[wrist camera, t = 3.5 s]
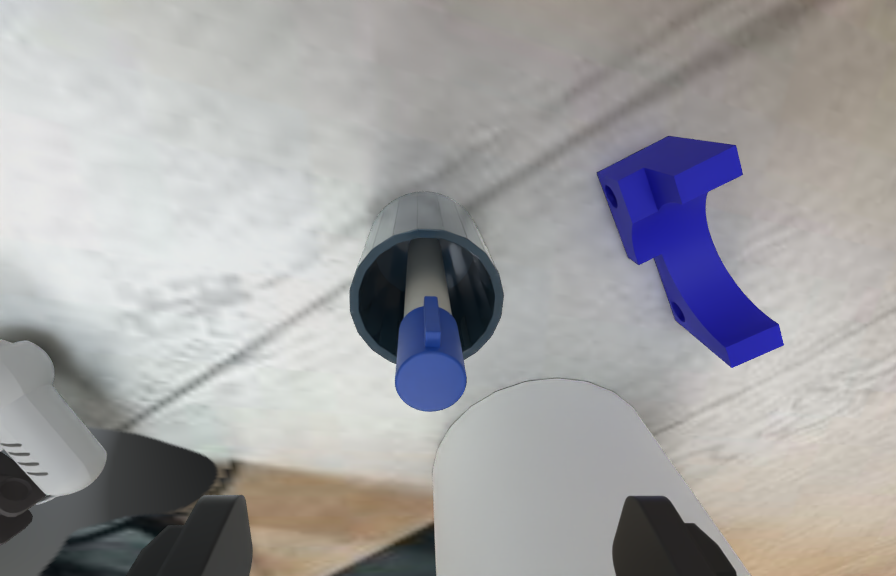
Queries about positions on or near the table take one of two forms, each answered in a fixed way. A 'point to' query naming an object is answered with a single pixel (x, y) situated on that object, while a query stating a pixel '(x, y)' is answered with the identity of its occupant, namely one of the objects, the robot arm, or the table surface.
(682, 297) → the blue curved block
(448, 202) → the tumbler
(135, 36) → the table surface
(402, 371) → the marker
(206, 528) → the robot arm
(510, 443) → the cylinder
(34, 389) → the clip-on lamp
